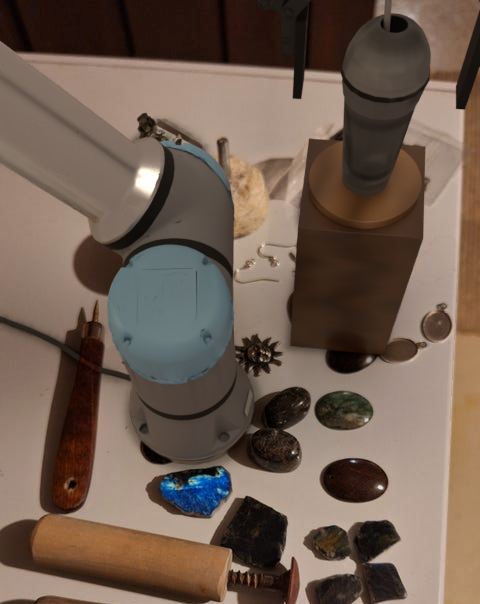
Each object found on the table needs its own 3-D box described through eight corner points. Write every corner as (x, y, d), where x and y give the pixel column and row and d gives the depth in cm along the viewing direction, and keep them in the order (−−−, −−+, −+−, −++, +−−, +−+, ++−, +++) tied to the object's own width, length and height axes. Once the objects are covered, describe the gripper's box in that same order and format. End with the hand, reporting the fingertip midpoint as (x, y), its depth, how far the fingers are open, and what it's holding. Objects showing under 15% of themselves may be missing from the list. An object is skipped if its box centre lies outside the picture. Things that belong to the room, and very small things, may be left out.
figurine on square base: (202, 178, 92) (129, 153, 89) (190, 202, 98) (121, 179, 95) (213, 111, 95) (143, 84, 92) (201, 138, 101) (134, 114, 98)
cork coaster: (303, 224, 62) (304, 217, 61) (313, 142, 66) (313, 134, 65) (418, 233, 61) (420, 226, 60) (420, 149, 65) (422, 141, 64)
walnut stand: (289, 346, 81) (297, 228, 61) (298, 270, 86) (308, 138, 66) (383, 355, 80) (423, 238, 60) (387, 278, 85) (425, 146, 65)
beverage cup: (376, 218, 60) (425, 6, 42) (313, 185, 62) (333, -32, 44) (416, 171, 62) (479, -51, 44) (354, 140, 64) (389, -84, 46)
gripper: (675, -285, 35) (527, 71, 54) (225, -290, 37) (238, 54, 56) (696, -215, 32) (532, 135, 51) (205, -226, 34) (226, 114, 53)
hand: (378, 93), depth 54 cm, fingers open, 13 cm apart
